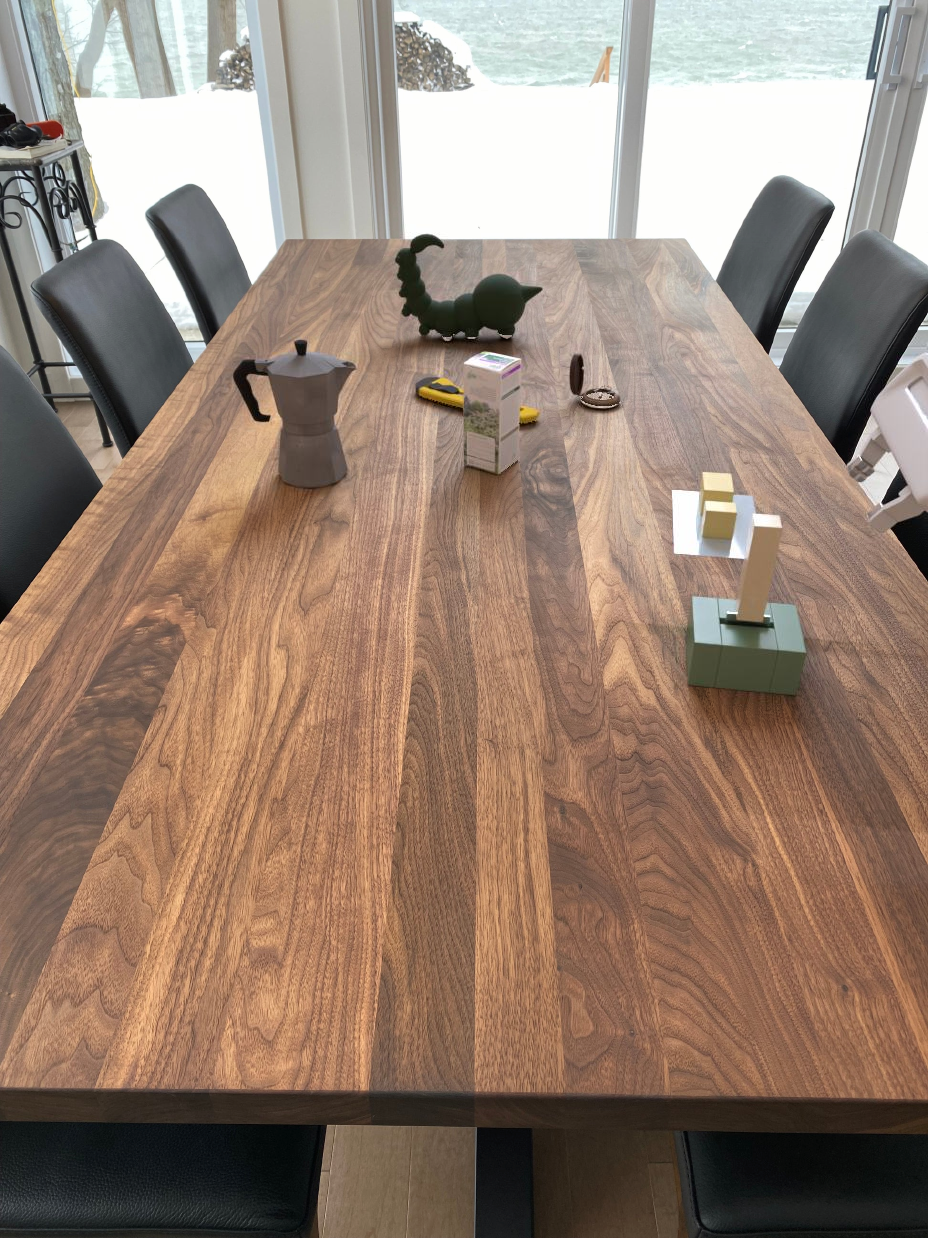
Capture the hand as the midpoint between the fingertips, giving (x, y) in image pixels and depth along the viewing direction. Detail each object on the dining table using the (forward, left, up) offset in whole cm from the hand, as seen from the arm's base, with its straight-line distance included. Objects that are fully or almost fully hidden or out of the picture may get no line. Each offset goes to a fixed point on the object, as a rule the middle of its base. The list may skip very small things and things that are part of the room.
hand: (862, 499), depth 89 cm
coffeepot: (+63, -29, -16) cm, 71 cm away
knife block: (+9, +5, -16) cm, 19 cm away
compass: (+26, -61, -16) cm, 68 cm away
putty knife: (+9, +5, -16) cm, 19 cm away
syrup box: (+39, -36, -16) cm, 55 cm away
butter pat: (+10, -20, -15) cm, 27 cm away
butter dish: (+10, -22, -16) cm, 29 cm away
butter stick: (+10, -26, -15) cm, 32 cm away
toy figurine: (+50, -87, -16) cm, 102 cm away
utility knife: (+44, -56, -16) cm, 73 cm away
